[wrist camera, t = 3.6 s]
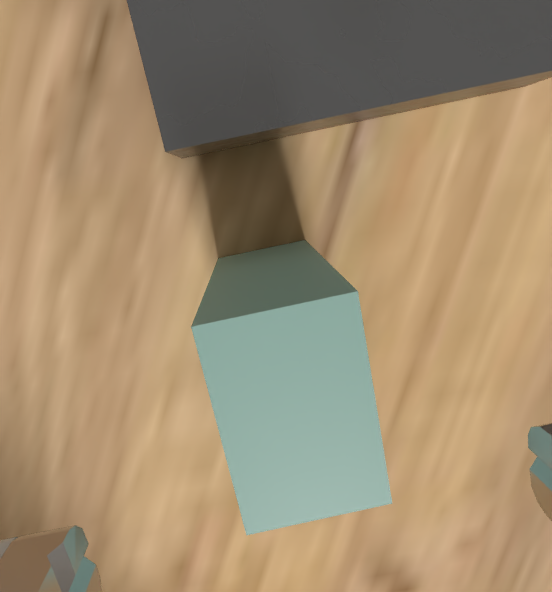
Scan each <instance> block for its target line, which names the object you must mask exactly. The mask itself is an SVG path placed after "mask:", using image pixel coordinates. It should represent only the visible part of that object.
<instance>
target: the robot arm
mask: <svg viewBox="0 0 552 592" xmlns="http://www.w3.org/2000/svg"><path fill="white" fill-rule="evenodd" d="M528 448H529V449H530V450H531V451H532V452H533V453H534V454H535V455H536V456H537V458H536V460H535V461H534V463H533V465H532V466H531V468H530V478H531V486H532V489H533V492H534V494H535V497H536V499H537V502H538V503H539V505H540V507H541V508H542V510H543V511H544V513H545V514H546V515H547V516H548V517H549V519H550V520H551V521H552V423H548V424H543V425H539V426H534V427H531V428H530V431H529V434H528ZM87 546H88V541H87V539H86V537H85V534H84V532H83V529H82V528H80V527H78V526H76V525H75V526H70V527H65V528H59V529H54V530H49V531H44V532H39V533H33V534H28V535H23V536H20V537H14V538H9V539H4V540H0V592H102V588H101V581H100V575H99V572H98V569H97V566H96V564H94V563H93V562H91V561H90V560H88V559H87V558H85V557H84V554H85V551H86V549H87Z"/></svg>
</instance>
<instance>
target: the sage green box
mask: <svg viewBox="0 0 552 592" xmlns="http://www.w3.org/2000/svg"><path fill="white" fill-rule="evenodd" d="M191 328H192V332H193V335H194V339H195V343H196V347H197V350H198V354H199V358H200V362H201V365H202V369H203V373H204V377H205V381H206V384H207V388H208V392H209V396H210V399H211V403H212V407H213V411H214V414H215V418H216V422H217V426H218V430H219V433H220V437H221V441H222V445H223V448H224V452H225V456H226V460H227V463H228V467H229V471H230V475H231V478H232V482H233V486H234V490H235V494H236V497H237V501H238V505H239V509H240V512H241V516H242V520H243V524H244V527H245V531H246V535H250V534H255V533H259V532H264V531H268V530H273V529H277V528H282V527H287V526H291V525H296V524H300V523H305V522H309V521H314V520H319V519H323V518H328V517H332V516H337V515H341V514H346V513H351V512H355V511H360V510H364V509H369V508H373V507H378V506H383V505H387V504H392V499H391V493H390V487H389V480H388V474H387V468H386V462H385V456H384V450H383V443H382V437H381V431H380V425H379V419H378V413H377V407H376V400H375V394H374V388H373V382H372V376H371V370H370V363H369V357H368V351H367V345H366V339H365V333H364V327H363V320H362V314H361V308H360V302H359V296H358V291H357V290H356V289H355V288H354V287H353V286H352V285H351V284H350V283H349V282H348V281H347V280H346V279H345V278H344V277H343V276H342V275H341V274H340V273H339V272H337V271H336V270H335V269H334V268H333V267H332V266H331V265H330V264H329V263H328V262H327V261H326V260H325V259H324V258H323V257H322V256H321V255H320V254H319V253H318V252H317V251H316V250H315V249H314V248H313V247H312V246H311V245H310V244H309V243H308V242H307V241H306V240H303V241H298V242H293V243H289V244H284V245H279V246H274V247H270V248H265V249H260V250H256V251H251V252H246V253H241V254H237V255H232V256H227V257H223V258H218V261H217V263H216V266H215V268H214V271H213V273H212V276H211V278H210V281H209V283H208V286H207V288H206V291H205V293H204V296H203V298H202V301H201V303H200V306H199V308H198V311H197V314H196V316H195V319H194V321H193V324H192V326H191Z"/></svg>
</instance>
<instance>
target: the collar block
mask: <svg viewBox="0 0 552 592" xmlns="http://www.w3.org/2000/svg"><path fill="white" fill-rule="evenodd" d="M127 3H128V7H129V11H130V15H131V18H132V22H133V26H134V30H135V34H136V38H137V42H138V46H139V50H140V54H141V58H142V62H143V66H144V70H145V74H146V77H147V81H148V85H149V89H150V93H151V97H152V101H153V105H154V109H155V113H156V117H157V121H158V125H159V129H160V132H161V136H162V140H163V144H164V148H165V152H167V153H170V154H172V155H175V156H177V157H180V158H186V157H191V156H196V155H201V154H205V153H210V152H215V151H220V150H224V149H229V148H234V147H239V146H244V145H248V144H253V143H258V142H263V141H267V140H272V139H277V138H282V137H286V136H291V135H296V134H301V133H305V132H310V131H315V130H320V129H324V128H329V127H334V126H339V125H343V124H348V123H353V122H358V121H363V120H367V119H372V118H377V117H382V116H386V115H391V114H396V113H401V112H405V111H410V110H415V109H420V108H424V107H429V106H434V105H439V104H443V103H448V102H453V101H458V100H462V99H467V98H472V97H477V96H482V95H486V94H491V93H496V92H501V91H505V90H510V89H515V88H520V87H524V86H528V85H531V84H533V83H536V82H539V81H542V80H545V79H548V78H550V77H552V0H127Z"/></svg>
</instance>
